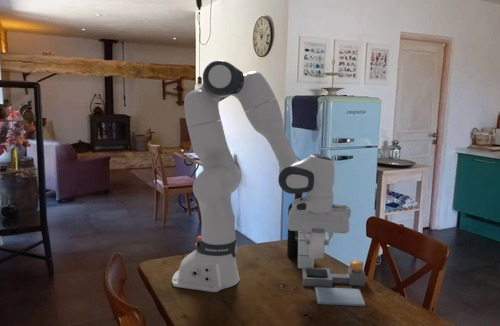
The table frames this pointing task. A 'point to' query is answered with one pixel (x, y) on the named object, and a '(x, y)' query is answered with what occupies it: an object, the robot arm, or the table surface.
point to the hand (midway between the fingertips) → (316, 244)
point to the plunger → (356, 265)
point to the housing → (331, 277)
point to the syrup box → (304, 252)
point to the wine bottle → (293, 237)
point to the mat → (339, 296)
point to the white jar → (317, 243)
